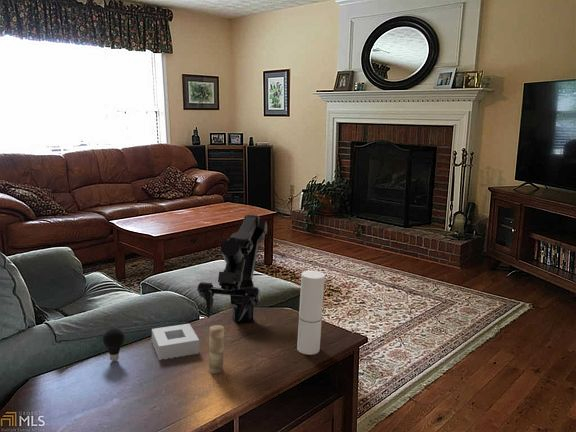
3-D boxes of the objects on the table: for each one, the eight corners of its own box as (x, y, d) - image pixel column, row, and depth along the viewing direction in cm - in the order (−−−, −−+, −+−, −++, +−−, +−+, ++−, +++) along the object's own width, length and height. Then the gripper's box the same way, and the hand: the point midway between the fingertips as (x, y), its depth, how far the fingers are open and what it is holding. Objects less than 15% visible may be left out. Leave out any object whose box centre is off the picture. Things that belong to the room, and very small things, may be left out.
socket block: (189, 336, 156) (189, 323, 155) (199, 353, 145) (199, 339, 144) (151, 342, 151) (151, 329, 150) (159, 360, 140) (158, 346, 139)
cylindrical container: (319, 344, 155) (325, 271, 149) (319, 355, 148) (324, 279, 142) (298, 342, 155) (302, 269, 150) (296, 353, 148) (300, 277, 143)
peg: (220, 365, 139) (221, 324, 136) (224, 372, 136) (225, 330, 133) (207, 368, 137) (207, 326, 135) (211, 375, 134) (212, 332, 131)
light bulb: (99, 362, 137) (98, 330, 135) (115, 354, 142) (114, 323, 140) (113, 368, 135) (112, 335, 133) (129, 359, 140) (128, 328, 138)
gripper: (199, 256, 143) (186, 305, 135) (260, 262, 141) (251, 311, 133) (206, 273, 153) (195, 319, 144) (264, 278, 151) (255, 325, 142)
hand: (223, 318), depth 141 cm, fingers open, 9 cm apart
